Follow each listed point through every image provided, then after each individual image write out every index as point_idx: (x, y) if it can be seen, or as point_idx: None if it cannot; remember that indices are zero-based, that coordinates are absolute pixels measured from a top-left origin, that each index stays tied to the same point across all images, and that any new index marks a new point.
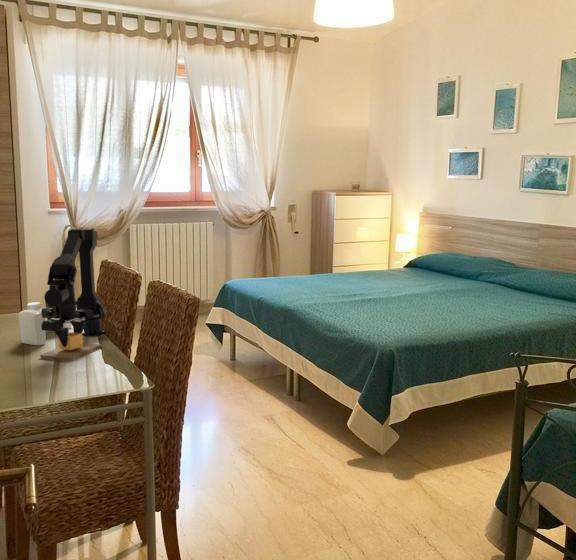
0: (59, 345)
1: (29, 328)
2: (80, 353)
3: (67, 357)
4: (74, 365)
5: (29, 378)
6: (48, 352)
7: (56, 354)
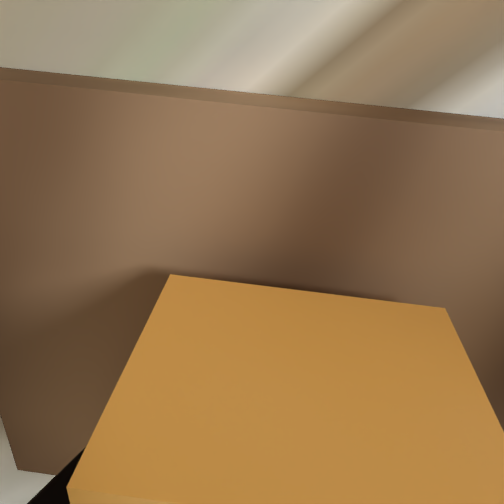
0: (151, 323)
1: None
2: None
3: (33, 456)
4: (8, 501)
5: None
6: (50, 128)
7: (44, 306)
